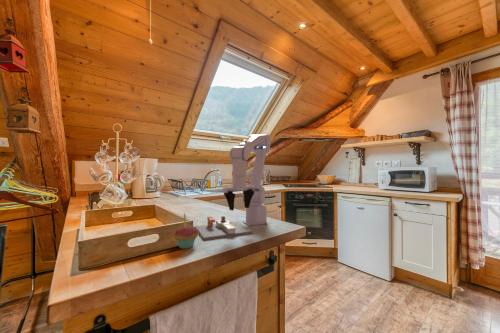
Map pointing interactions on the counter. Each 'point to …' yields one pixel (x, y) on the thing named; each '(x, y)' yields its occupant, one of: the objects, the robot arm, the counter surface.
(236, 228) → the board
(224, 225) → the link
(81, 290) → the counter surface
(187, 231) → the cupcake
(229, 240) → the counter surface
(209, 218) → the keeper
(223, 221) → the pintle
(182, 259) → the counter surface
